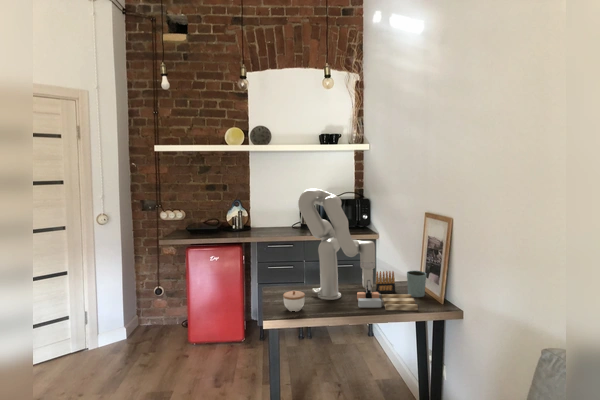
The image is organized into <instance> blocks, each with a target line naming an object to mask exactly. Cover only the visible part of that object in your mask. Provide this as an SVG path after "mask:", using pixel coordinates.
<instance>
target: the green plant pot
mask: <svg viewBox="0 0 600 400" xmlns="http://www.w3.org/2000/svg"><path fill="white" fill-rule="evenodd" d="M426 282H427V273H426V272H425V271H422V270H409V271H406V283H407V284H406V285H407V294H411V298H422V297H425V293H426V284H427V283H426Z"/></svg>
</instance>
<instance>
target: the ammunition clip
mask: <svg viewBox="0 0 600 400" xmlns="http://www.w3.org/2000/svg"><path fill="white" fill-rule="evenodd" d="M395 281H396V280H395V271H394V270H392V272H391V270H389V271H388V270H386V271H384V270H383V271H381V270H380V271H379V272H378V270H377V271H376V275H375V292H378V293H379V294H381V293H396V282H395Z"/></svg>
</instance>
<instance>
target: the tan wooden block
mask: <svg viewBox="0 0 600 400" xmlns="http://www.w3.org/2000/svg"><path fill="white" fill-rule="evenodd" d="M371 293H372V298H380V299H381V300H382V294H381V293H378V292H376V291H371ZM356 294H357V295H356V297H357V299H356V300H357V301H358V298H366V292H365V291H357V293H356Z"/></svg>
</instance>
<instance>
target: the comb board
mask: <svg viewBox="0 0 600 400" xmlns="http://www.w3.org/2000/svg"><path fill="white" fill-rule="evenodd" d="M381 300H383V301H384V306H383V307H384V308H385V311H419V309H418V307H419V305H418V303H417V304H416V300H415V298H414V297H412V296H411V294H408V293H407V294H404V293H403V294H393V293H392V294H388V293H386V294H381Z"/></svg>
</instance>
